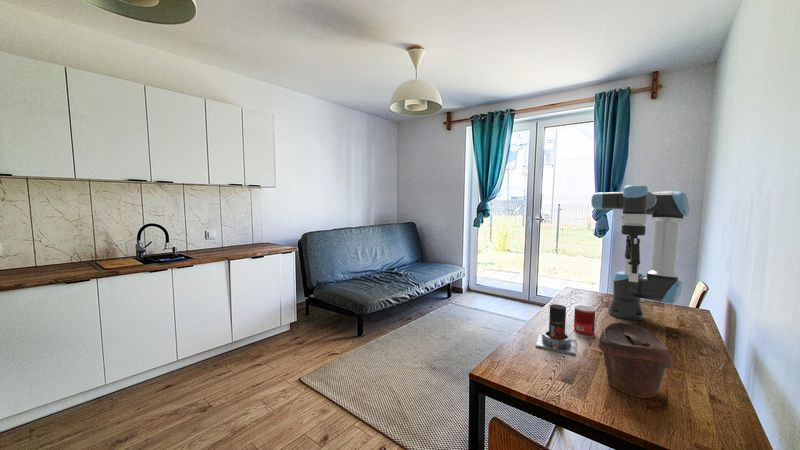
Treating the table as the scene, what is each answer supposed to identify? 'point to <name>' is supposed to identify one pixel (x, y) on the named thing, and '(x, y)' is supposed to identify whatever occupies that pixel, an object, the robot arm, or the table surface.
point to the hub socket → (556, 343)
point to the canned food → (584, 320)
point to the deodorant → (557, 321)
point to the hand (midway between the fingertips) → (630, 278)
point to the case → (634, 359)
